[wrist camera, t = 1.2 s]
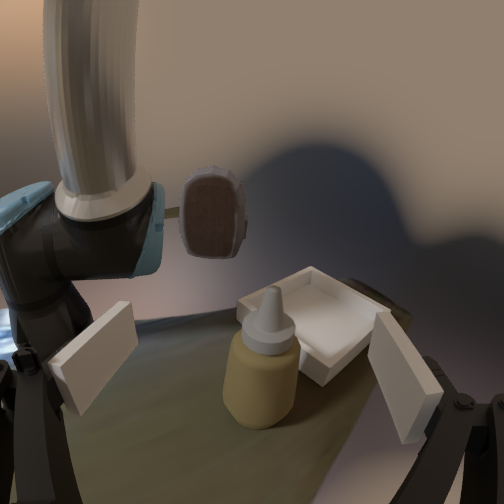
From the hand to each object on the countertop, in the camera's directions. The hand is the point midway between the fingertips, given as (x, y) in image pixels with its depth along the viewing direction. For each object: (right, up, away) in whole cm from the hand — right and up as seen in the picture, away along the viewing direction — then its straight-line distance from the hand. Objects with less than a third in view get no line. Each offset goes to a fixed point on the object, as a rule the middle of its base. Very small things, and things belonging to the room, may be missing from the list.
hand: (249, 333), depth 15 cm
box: (+10, -8, +31) cm, 34 cm away
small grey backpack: (-9, +4, +52) cm, 53 cm away
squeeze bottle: (+1, -15, +17) cm, 22 cm away
